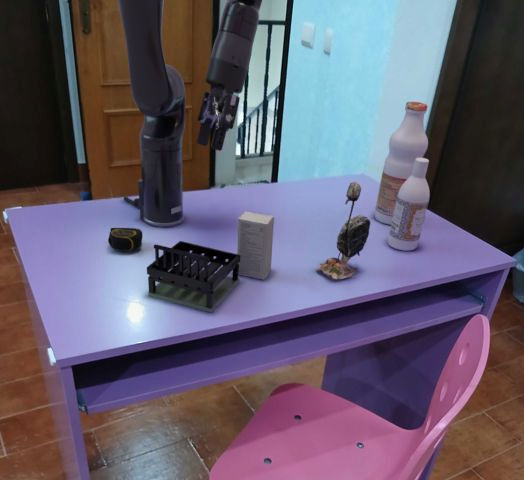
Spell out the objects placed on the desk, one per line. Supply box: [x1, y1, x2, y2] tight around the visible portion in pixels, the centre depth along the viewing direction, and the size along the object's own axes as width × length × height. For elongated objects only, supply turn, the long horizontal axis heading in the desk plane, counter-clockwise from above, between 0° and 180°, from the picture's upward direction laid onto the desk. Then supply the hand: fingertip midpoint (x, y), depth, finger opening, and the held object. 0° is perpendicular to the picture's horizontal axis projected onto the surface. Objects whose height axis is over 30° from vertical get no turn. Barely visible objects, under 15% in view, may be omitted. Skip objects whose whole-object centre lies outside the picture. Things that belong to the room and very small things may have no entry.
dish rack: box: [146, 240, 241, 314], centre depth 104 cm, size 13×13×10 cm
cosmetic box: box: [236, 210, 275, 281], centre depth 111 cm, size 6×4×12 cm
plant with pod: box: [315, 181, 373, 281], centre depth 112 cm, size 8×11×20 cm
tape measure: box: [107, 227, 143, 252], centre depth 118 cm, size 7×7×4 cm
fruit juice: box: [374, 101, 429, 226], centre depth 136 cm, size 9×9×28 cm
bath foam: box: [387, 157, 431, 252], centre depth 125 cm, size 7×7×20 cm
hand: (208, 147), depth 114 cm, fingers open, 8 cm apart
